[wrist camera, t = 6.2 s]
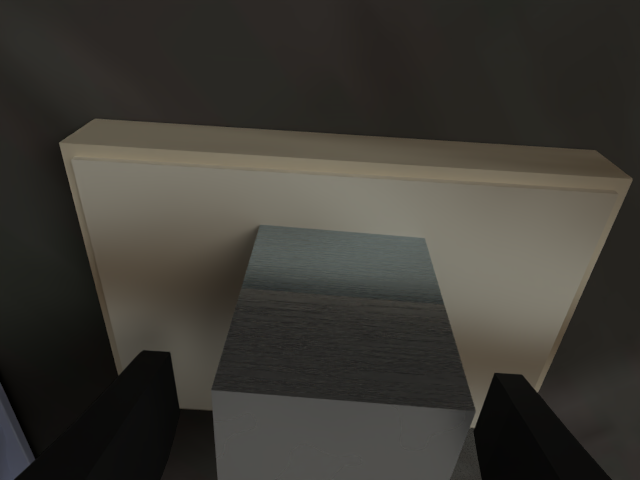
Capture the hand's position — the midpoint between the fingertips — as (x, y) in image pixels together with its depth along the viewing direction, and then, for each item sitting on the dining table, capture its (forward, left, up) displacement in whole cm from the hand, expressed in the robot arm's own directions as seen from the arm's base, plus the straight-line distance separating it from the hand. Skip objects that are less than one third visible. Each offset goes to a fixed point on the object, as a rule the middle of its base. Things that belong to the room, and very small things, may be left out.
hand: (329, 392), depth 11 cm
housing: (0, 0, -2) cm, 3 cm away
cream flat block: (0, 0, -4) cm, 4 cm away
